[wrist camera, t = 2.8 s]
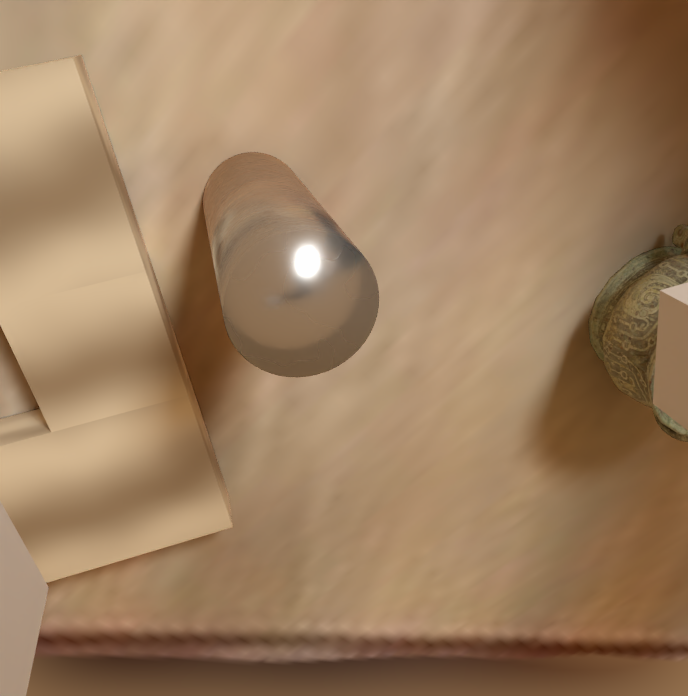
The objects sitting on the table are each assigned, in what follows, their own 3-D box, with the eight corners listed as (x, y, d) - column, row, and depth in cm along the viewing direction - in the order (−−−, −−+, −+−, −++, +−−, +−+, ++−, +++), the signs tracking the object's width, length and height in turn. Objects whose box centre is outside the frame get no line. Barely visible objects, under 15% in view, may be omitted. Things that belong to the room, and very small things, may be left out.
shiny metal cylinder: (190, 164, 27) (204, 252, 17) (292, 141, 28) (366, 213, 17) (217, 262, 29) (245, 394, 19) (311, 239, 30) (388, 354, 20)
